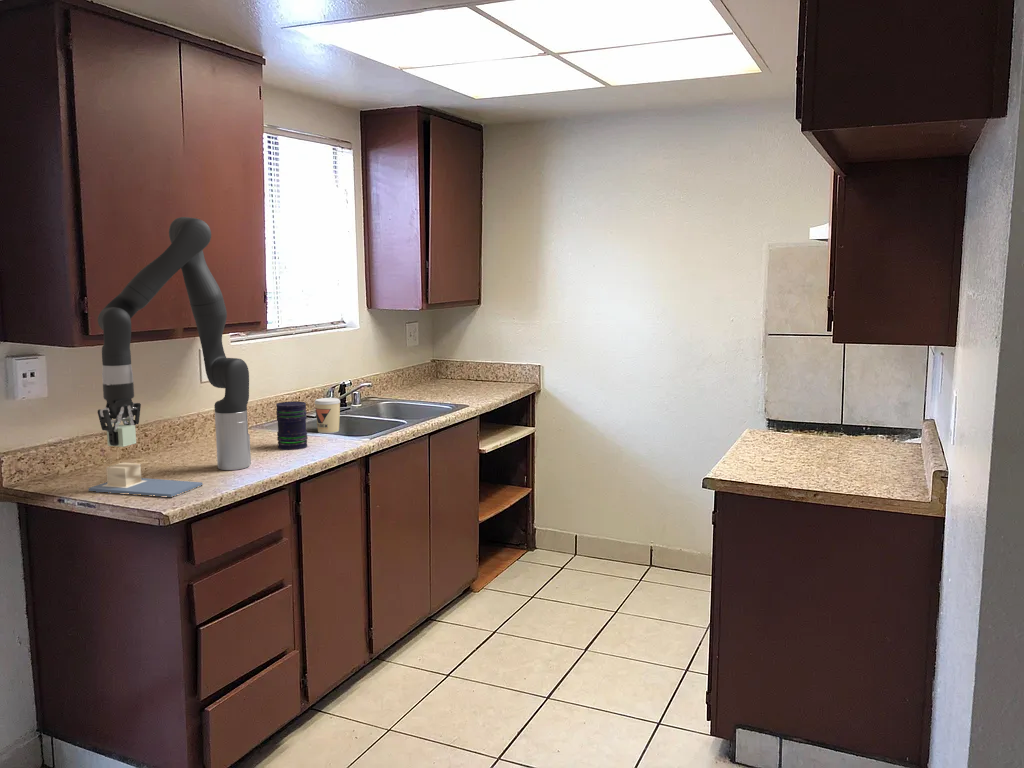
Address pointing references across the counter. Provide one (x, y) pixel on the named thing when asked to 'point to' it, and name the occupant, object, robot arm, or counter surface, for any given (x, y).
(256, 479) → the counter surface
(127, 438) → the sage block
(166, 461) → the counter surface
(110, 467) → the maple block
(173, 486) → the board
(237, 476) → the counter surface
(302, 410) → the storage jar
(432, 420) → the counter surface
